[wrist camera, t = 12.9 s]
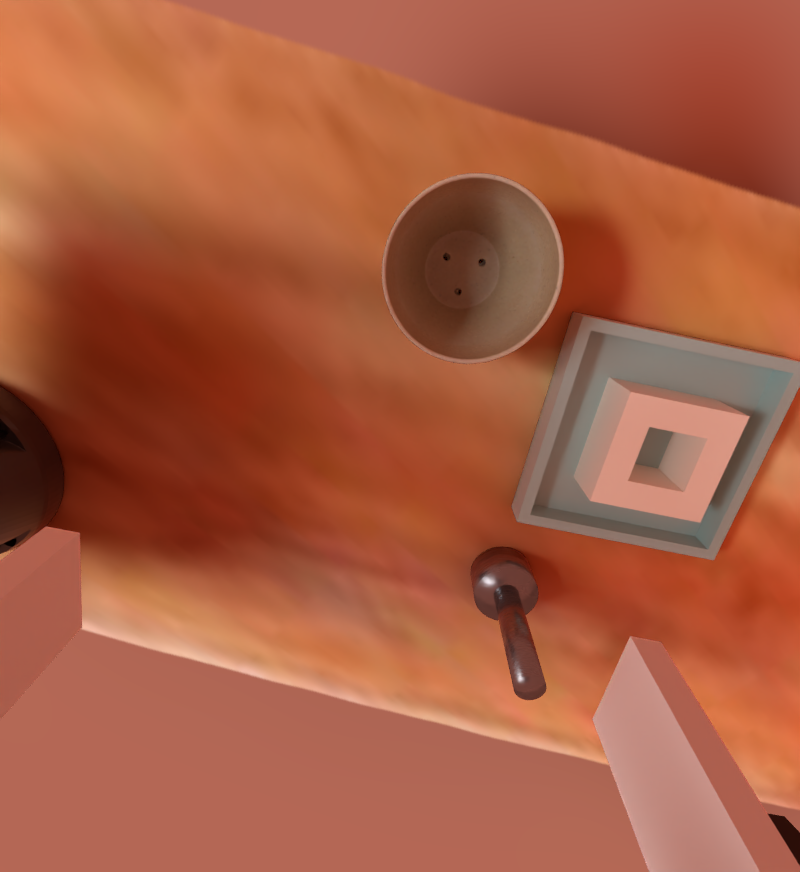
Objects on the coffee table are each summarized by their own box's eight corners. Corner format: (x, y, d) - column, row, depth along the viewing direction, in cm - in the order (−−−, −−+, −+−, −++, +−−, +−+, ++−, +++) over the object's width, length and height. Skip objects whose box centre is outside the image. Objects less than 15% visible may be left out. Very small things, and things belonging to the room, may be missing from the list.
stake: (464, 591, 44) (480, 710, 32) (478, 541, 42) (501, 649, 31) (520, 601, 44) (556, 723, 33) (537, 553, 42) (581, 664, 31)
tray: (511, 506, 41) (516, 521, 38) (572, 311, 35) (583, 315, 33) (697, 543, 41) (713, 560, 39) (786, 357, 36) (810, 364, 34)
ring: (573, 476, 39) (590, 500, 35) (608, 377, 36) (630, 391, 33) (673, 496, 39) (700, 522, 36) (715, 399, 37) (749, 416, 33)
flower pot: (561, 292, 35) (595, 303, 28) (436, 368, 37) (440, 395, 30) (490, 154, 32) (509, 130, 25) (360, 245, 34) (346, 244, 28)
